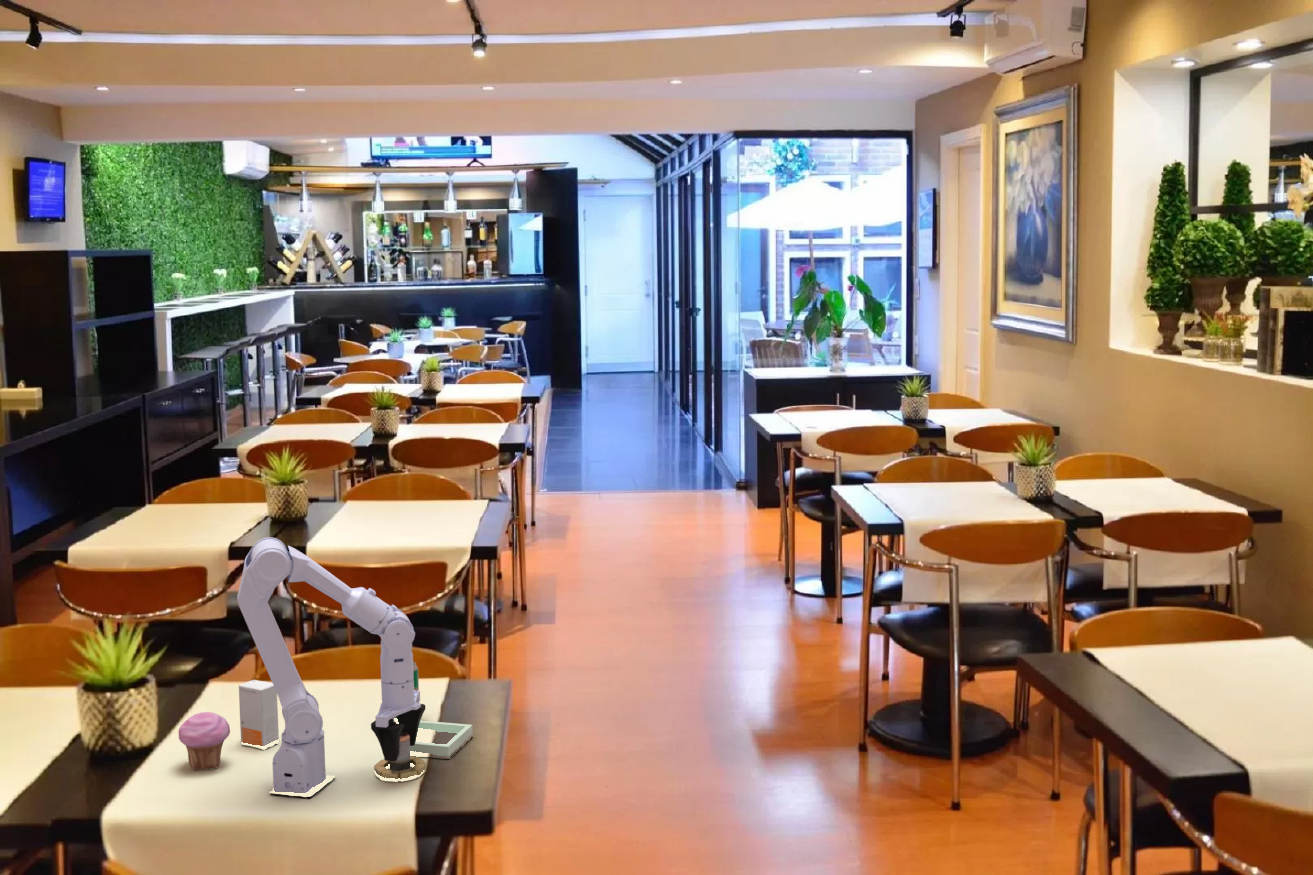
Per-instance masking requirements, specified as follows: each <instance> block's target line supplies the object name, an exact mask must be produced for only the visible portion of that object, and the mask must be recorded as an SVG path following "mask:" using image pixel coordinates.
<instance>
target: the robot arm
mask: <svg viewBox="0 0 1313 875" xmlns="http://www.w3.org/2000/svg"><path fill="white" fill-rule="evenodd" d="M288 550H289V551H288ZM286 578H287V582H288V583H299V582H304V583H307V584H309V585H310V586H312V587H314V588H315V589H316V590H318V591H319V592H321V593H323V594H324V595H326V596H328V597H329V598H332V600H334V601H336V602H337V603H339V604H341V611H342V614H343V616H346V617H347V618H348V620H351V621H352V622H354V623H355V624H357V625H358V626H360V627H361V628H362V629H365V630H366V631H368V632H369V633H370V634H373V635H378V636H379V637H380V639H381V640H380V655H379V658H380V660H379V661H380V663H379V664H380V685H381V704H380V706H379V710H378V713H377V715H375V720H374V721H372V722H371V723H370V729H371V731H372V732H373V733H374V735H375V736H376V738H377V740H378V743H379V746H380V748H381V751H382V754H383V760H384V759H385V761H396V760H397V758H398V752H399V740H400V735H401V732H405V733H408V734H409V735H410V746H414V745H415V742H416V737H417V732H418V727H419V723H420V721H422V717H423V714H424V712H425V710H426V704H424V703H421V690H419V691H416V690H414V673H413V662H414V653H413V649H412V648H413V642H414V640H415V636H416V632H415V630H414V629H415V628H414V626H413V624H412V623H411V621H410V619H409V617H408V615H406V613H404V612H403V610H401V609H399V608H398V607H397V606H396V605H394V604H391V605H390V604H389V603H386V602H385V601H383V600H382V599H381V598H379V597H378V596H376V595H377V593H376V590H374V589H373V588H371V587H369V588H368V589H366V588H365V587H363V586H359V587H354V588H351V587H350V586H349V585H347V584H346V583H345V582H344V581H342V580H341V579H339V578H338V577H336V576H335V575H333V574H332V573H331V572H330V571H328V570H327V569H326V568H324V567H323V566H322V565H320V564H319V563H317V562H316V561H315V560H313V559H312V558H310V557H309V556H307V555H306V554H304V553H303V552H301V551H300V550H298V549H297V548H294V547H292V546H290V545H287V546H286V545H285V544H284V542H283V541H281V540H280V539H278V538H277V537H276V538H275V537H272V536H271V537H264V538H261V539H259V540H258V541H256V542H255V543H254V544H253V545H252V547H251V548H250V550H249V552H248V553H247V555H246V556H245V559H244V563H243V570H242V572H241V579H240V583H239V586H238V587H239V588H238V591H237V596H236V597H237V603H238V608H239V609H240V612H241V614H242V616H243V618H244V621H245V623H246V625H247V628H248V630H249V632H250V634H251V636H252V639H253V642H254V644H255V646H256V648H257V650H258V653H259V656H260V657H261V660H262V662H263V664H264V666H265V669H266V671H267V674H268V675H269V678H270V680H271V683H273V685H274V687H275V690H276V692H277V698H278V699H279V700H278V701H279V702H280V706H281V714H282V717H283V720H284V730H283V732H281V742H280V746H279V748H278V750H277V751H276V752H275V753H274V755H273V756H272V757H273V758H272V780H273V782H272V783H273V788H274V791H275V792H294V793H306V792H308V791H309V790H310V789H311V788H312V787H315V786H316V785H318V784H320V783H322V782H323V781H324V780H325V779H326V775H327V774H326V755H325V753H326V752H325V749H326V748H325V731H324V729H323V727H324V726H323V725H324V721H323V716H322V714H321V713H320V708H319V702H318V700H317V699H316V697H315V696H314V695H312V694H311V693H310V692H309V691H308V690H307V688H306V686H305V685H304V682H303V680H302V678H301V677H300V674H299V672H298V670H297V667H296V665H295V663H294V660H293V658H292V655H291V653H290V651H289V648H288V647H287V644H286V642H285V639H284V637H283V635H282V632H281V630H280V627H279V625H278V623H277V621H276V618H275V615H274V614H273V613H274V612H272V608H271V607H270V604H269V601H270V598H271V596H272V594H273V593H274V591H275V589H276V588H277V587H278V586H279V585H280V584H281V583H282V582H284V580H285V579H286ZM417 702H419V703H417ZM396 716H397V718H398V722H399V724H396V723H395V722H394V718H395V717H396Z"/></svg>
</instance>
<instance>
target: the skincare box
mask: <svg viewBox="0 0 1313 875" xmlns="http://www.w3.org/2000/svg"><path fill="white" fill-rule="evenodd" d="M238 698H239V699H238V700H239V721H240V722H239V724H240V726H239V727H240V728H239V729H240V743H241V742H243V743H248V744H252V745H260V746H265V745H267V744H269V743H271V742H273V741H275V740H278V739H279V740H280V732H279V730H280V729H279V713H278V712H279V711H278V710H279V709H278V694H277V692H276V690H275V687H274V685H273V683H272V682H268V681H265V680H264V681H263V680H257V679H252V680H249V681H245V682H243V683H241V684H239V685H238Z"/></svg>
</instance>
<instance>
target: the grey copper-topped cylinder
mask: <svg viewBox="0 0 1313 875" xmlns="http://www.w3.org/2000/svg"><path fill="white" fill-rule="evenodd" d="M406 769H411V768H410V735H409V734H408V733H405V732H401V735H400V740H399V752H398V758H397V760H396V761H390V769H389V770H395V771H401V770H406Z"/></svg>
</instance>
